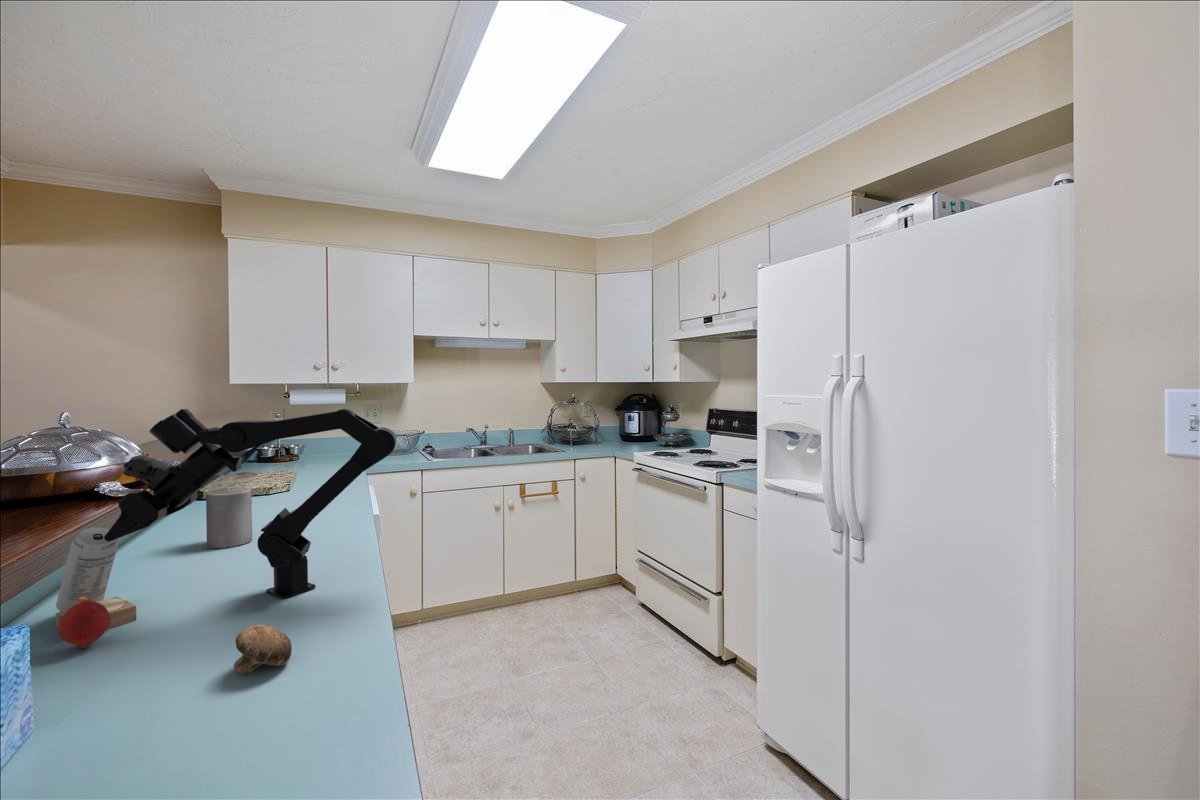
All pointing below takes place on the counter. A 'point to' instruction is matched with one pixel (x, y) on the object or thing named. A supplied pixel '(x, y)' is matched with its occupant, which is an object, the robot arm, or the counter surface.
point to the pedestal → (112, 611)
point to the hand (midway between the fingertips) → (120, 532)
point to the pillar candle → (228, 517)
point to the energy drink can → (87, 568)
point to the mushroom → (261, 648)
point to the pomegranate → (84, 623)
